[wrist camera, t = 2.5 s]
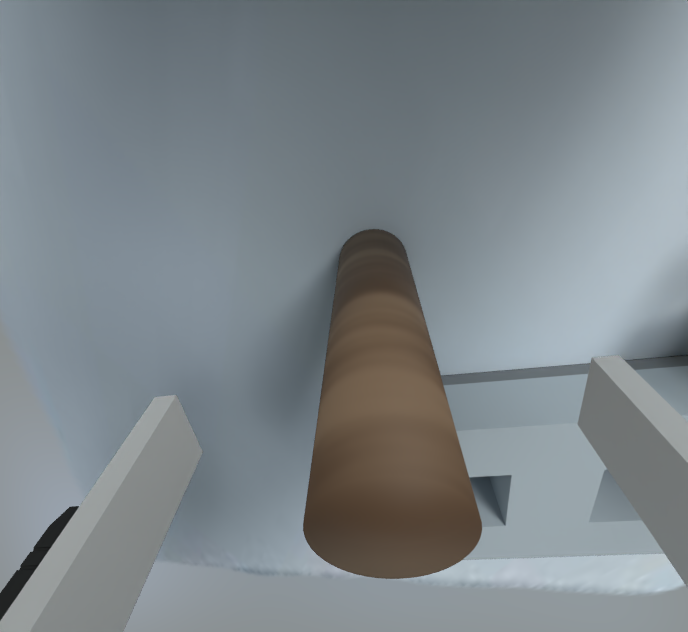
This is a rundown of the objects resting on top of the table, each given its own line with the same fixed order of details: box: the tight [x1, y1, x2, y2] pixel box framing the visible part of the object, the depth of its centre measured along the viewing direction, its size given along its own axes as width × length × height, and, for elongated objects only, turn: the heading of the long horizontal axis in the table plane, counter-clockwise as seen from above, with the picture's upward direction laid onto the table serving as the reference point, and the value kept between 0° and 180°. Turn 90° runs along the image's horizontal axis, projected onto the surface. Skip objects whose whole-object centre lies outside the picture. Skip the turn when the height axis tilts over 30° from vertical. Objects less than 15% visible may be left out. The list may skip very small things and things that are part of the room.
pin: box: [303, 229, 482, 579], centre depth 15 cm, size 4×4×16 cm
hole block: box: [441, 355, 688, 560], centre depth 27 cm, size 14×22×5 cm, turn 98°
